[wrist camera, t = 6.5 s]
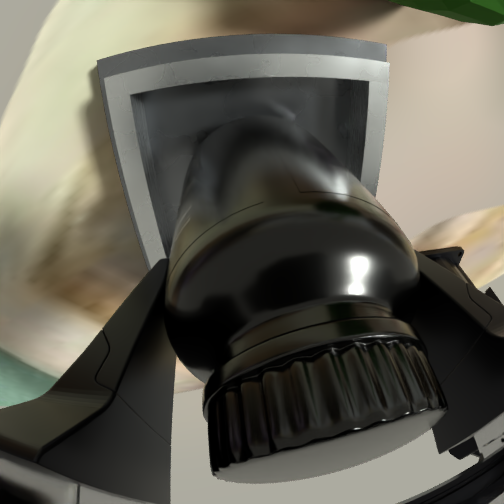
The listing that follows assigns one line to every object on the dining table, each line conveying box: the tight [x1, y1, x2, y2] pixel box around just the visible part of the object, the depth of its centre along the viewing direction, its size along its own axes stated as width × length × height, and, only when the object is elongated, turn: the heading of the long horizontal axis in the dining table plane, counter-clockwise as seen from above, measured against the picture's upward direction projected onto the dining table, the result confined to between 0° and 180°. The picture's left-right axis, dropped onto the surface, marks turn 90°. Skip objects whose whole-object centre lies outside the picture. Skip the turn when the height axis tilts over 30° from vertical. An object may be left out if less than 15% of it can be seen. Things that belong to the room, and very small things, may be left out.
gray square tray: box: [97, 34, 390, 271], centre depth 15 cm, size 14×14×3 cm
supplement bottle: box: [164, 115, 449, 484], centre depth 9 cm, size 7×7×12 cm
